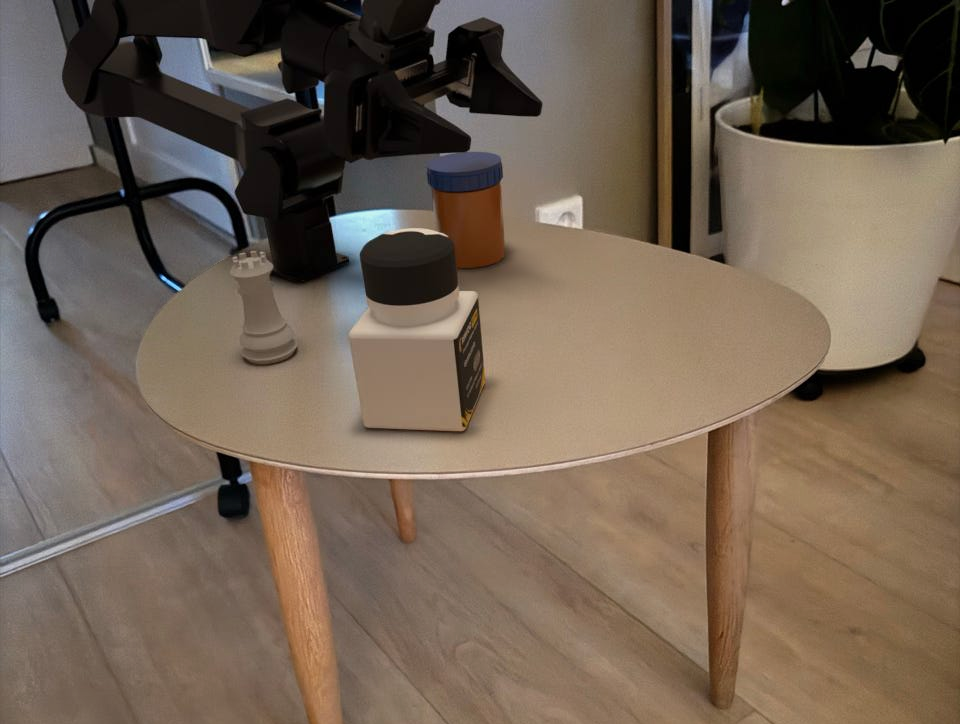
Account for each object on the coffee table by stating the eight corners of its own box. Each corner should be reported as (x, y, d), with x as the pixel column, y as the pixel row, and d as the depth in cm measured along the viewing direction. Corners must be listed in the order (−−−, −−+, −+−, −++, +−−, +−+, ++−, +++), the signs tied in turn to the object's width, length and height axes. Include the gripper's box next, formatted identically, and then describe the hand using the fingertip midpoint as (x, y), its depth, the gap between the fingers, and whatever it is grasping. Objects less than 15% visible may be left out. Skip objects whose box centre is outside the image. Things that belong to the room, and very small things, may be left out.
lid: (412, 184, 84) (410, 166, 83) (465, 166, 88) (463, 148, 87) (465, 196, 80) (464, 176, 79) (518, 176, 84) (517, 157, 83)
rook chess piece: (282, 367, 71) (261, 268, 66) (232, 364, 72) (207, 266, 68) (308, 343, 74) (289, 247, 70) (259, 339, 76) (237, 245, 71)
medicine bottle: (465, 433, 60) (447, 258, 54) (362, 429, 62) (333, 258, 55) (486, 382, 66) (472, 218, 59) (392, 380, 68) (368, 219, 61)
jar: (425, 259, 88) (415, 171, 84) (471, 240, 92) (464, 154, 87) (472, 273, 84) (464, 181, 80) (519, 252, 88) (513, 162, 83)
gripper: (259, -37, 62) (440, 43, 56) (431, -77, 73) (595, -14, 68) (264, 123, 70) (423, 206, 64) (419, 64, 81) (565, 130, 76)
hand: (506, 126), depth 68 cm, fingers open, 9 cm apart
